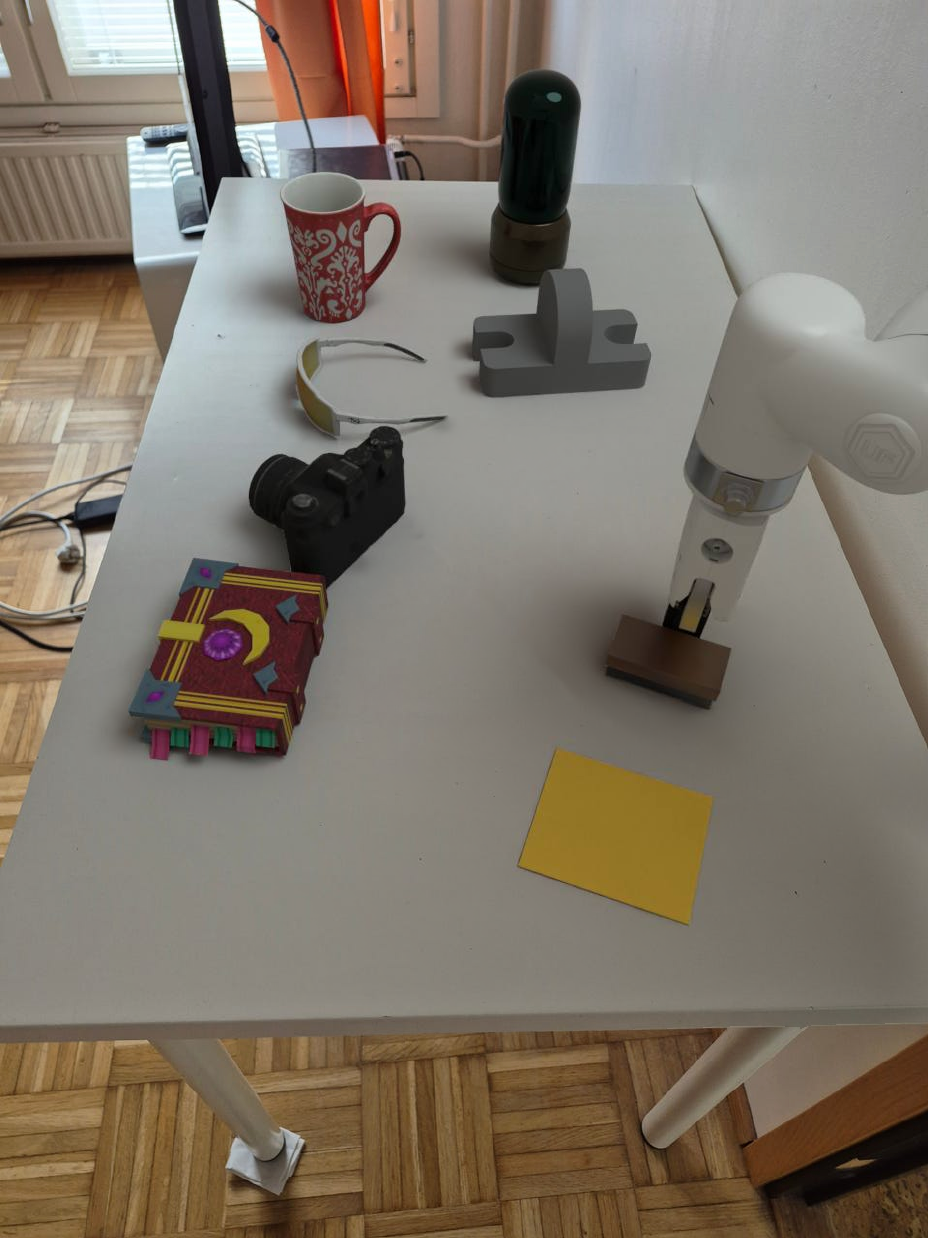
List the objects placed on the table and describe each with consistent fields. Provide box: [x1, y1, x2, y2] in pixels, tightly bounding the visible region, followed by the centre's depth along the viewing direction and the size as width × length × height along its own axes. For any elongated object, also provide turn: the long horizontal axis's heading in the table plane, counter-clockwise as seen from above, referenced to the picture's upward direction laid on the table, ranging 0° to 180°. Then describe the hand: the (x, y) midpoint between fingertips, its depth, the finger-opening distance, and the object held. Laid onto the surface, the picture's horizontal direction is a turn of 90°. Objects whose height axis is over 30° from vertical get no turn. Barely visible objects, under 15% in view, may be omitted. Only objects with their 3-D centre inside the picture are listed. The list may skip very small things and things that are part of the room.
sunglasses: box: [295, 336, 450, 437], centre depth 92 cm, size 14×15×5 cm
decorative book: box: [127, 557, 329, 761], centre depth 69 cm, size 11×16×5 cm
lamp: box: [488, 68, 582, 285], centre depth 102 cm, size 10×10×22 cm
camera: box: [248, 425, 407, 590], centre depth 77 cm, size 14×11×10 cm
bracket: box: [471, 267, 652, 398], centre depth 94 cm, size 10×18×11 cm, turn 98°
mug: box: [279, 171, 402, 324], centre depth 99 cm, size 13×9×14 cm
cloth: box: [517, 747, 714, 926], centre depth 63 cm, size 12×10×1 cm
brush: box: [604, 613, 732, 710], centre depth 71 cm, size 9×4×3 cm, turn 68°
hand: (680, 629), depth 74 cm, fingers closed
